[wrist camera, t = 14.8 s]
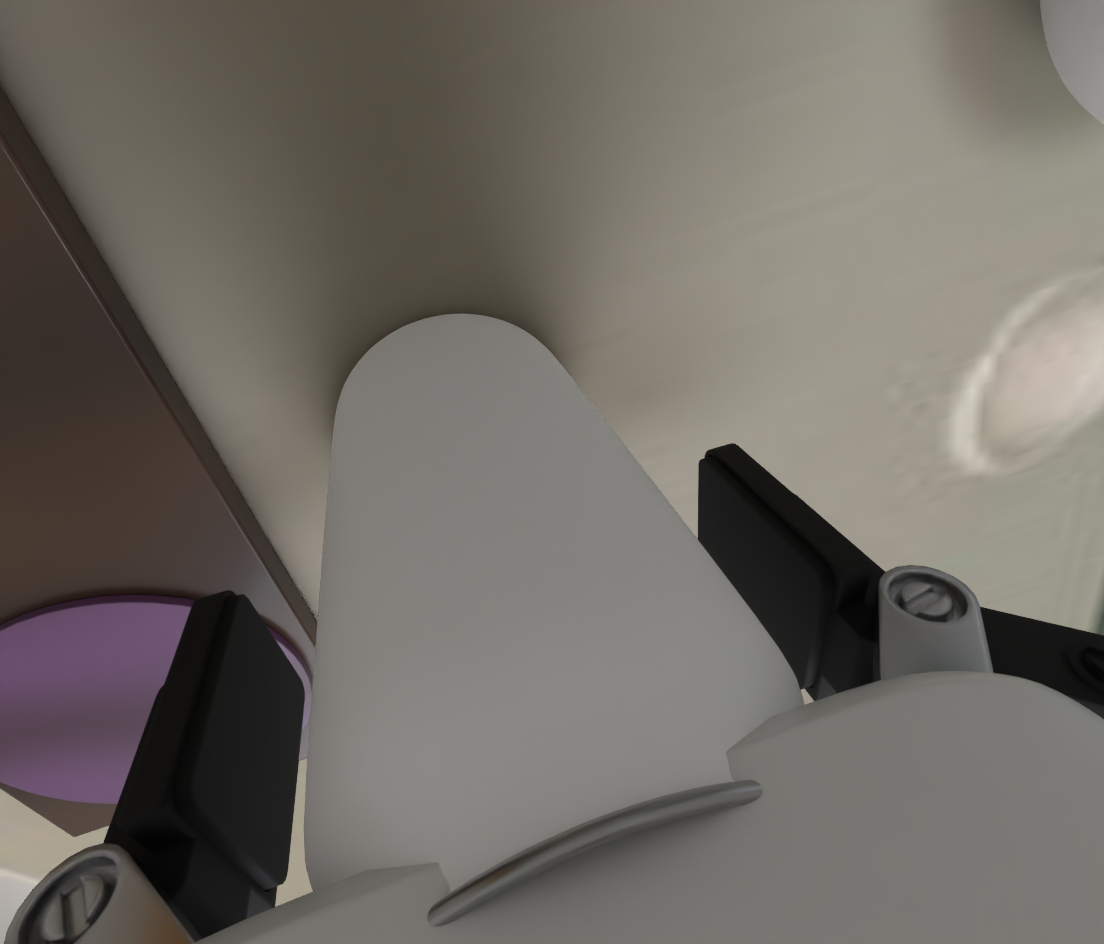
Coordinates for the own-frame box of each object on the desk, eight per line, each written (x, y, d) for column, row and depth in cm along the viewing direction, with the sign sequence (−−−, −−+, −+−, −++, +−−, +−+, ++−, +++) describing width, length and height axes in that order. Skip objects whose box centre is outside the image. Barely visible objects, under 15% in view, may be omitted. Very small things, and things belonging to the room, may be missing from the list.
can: (356, 532, 16) (351, 1138, 7) (310, 314, 13) (166, 939, 3) (565, 500, 18) (801, 956, 8) (575, 300, 14) (1004, 688, 5)
